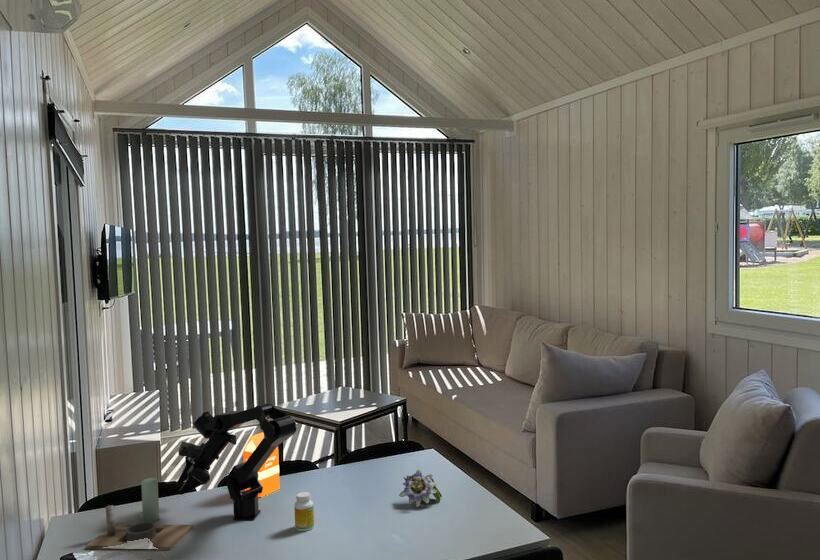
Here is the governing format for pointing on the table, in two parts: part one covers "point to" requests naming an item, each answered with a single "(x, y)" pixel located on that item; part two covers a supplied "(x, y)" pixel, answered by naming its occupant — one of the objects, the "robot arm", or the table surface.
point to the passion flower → (420, 488)
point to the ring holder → (139, 533)
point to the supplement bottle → (304, 512)
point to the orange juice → (264, 466)
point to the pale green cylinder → (150, 499)
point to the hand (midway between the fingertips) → (179, 488)
